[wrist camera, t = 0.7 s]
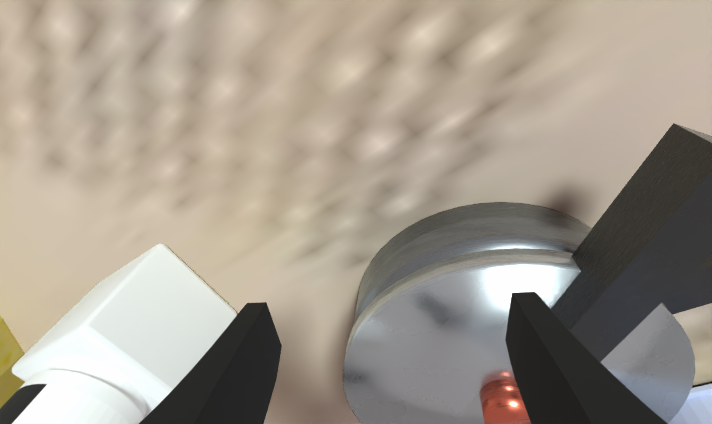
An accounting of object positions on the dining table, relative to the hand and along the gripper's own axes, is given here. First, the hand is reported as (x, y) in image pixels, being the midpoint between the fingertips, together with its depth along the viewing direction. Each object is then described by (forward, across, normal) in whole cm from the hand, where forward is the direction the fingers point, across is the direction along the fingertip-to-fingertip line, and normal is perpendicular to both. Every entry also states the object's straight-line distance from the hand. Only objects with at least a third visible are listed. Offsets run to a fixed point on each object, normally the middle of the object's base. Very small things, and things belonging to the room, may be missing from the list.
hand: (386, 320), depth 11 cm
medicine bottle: (+10, +16, +8) cm, 20 cm away
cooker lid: (+5, -6, +7) cm, 11 cm away
